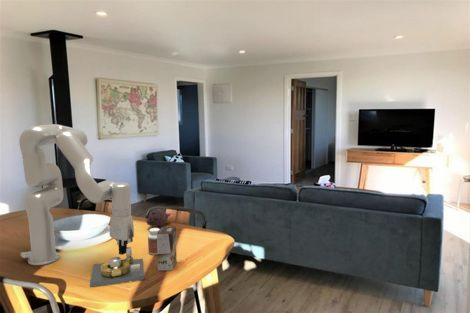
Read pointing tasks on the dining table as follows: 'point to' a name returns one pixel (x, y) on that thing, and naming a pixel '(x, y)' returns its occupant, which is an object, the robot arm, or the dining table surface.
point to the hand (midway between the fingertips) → (122, 253)
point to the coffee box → (166, 248)
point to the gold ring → (117, 271)
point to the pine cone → (157, 218)
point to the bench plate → (132, 275)
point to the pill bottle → (152, 241)
